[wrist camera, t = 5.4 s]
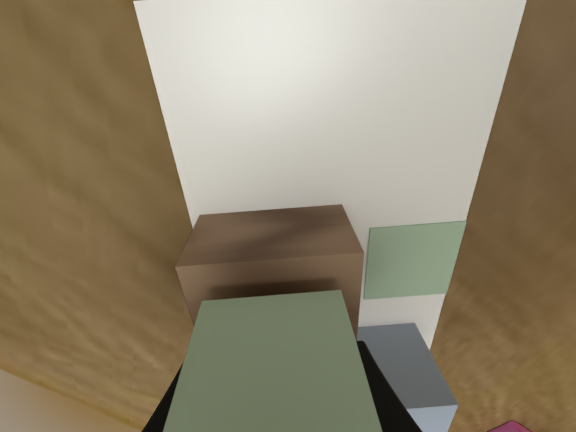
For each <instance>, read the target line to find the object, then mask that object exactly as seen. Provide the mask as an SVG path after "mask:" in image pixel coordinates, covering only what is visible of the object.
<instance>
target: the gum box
mask: <svg viewBox="0 0 576 432" xmlns="http://www.w3.org/2000/svg"><path fill="white" fill-rule="evenodd" d="M488 432H531V431H529V430H527V429H526V428H524V427H523V426H521V425H519V424H518V423H516V422H514V421H510V422H507V423H505V424H503V425H501V426H499V427H497V428H495V429H493V430H490V431H488Z"/></svg>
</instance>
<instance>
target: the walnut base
mask: <svg viewBox="0 0 576 432" xmlns="http://www.w3.org/2000/svg"><path fill="white" fill-rule="evenodd" d="M363 261H364V251H363V249H362V247H361V244H360V242H359V240H358V238H357V236H356V234H355V232H354V229H353V227H352V225H351V223H350V221H349V219H348V216H347V214H346V212H345V210H344V208H343V206H342V204H338V205H324V206H311V207H297V208H284V209H271V210H257V211H244V212H230V213H217V214H204V215H199V217H198V219H197V221H196V224H195V226H194V228H193V230H192V232H191V234H190V236H189V238H188V240H187V243H186V245H185V247H184V249H183V251H182V253H181V255H180V257H179V259H178V261H177V264H176V266H175V269H176V272H177V275H178V278H179V281H180V284H181V287H182V290H183V293H184V297H185V300H186V303H187V306H188V309H189V312H190V315H191V318H192V321H193V324H194V326H195V322H196V319H197V315H198V312H199V309H200V305H201V302H202V301H208V300H220V299H233V298H245V297H258V296H270V295H283V294H295V293H307V292H320V291H332V290H341V291H342V295H343V298H344V302H345V305H346V308H347V312H348V315H349V319H350V322H351V326H352V329H353V333H354V336H355V339H356V341H357V333H358V321H359V309H360V297H361V285H362V273H363Z"/></svg>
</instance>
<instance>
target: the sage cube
mask: <svg viewBox="0 0 576 432" xmlns="http://www.w3.org/2000/svg"><path fill="white" fill-rule="evenodd" d="M163 432H382V429H381V426H380V422H379V419H378V415H377V412H376V408H375V405H374V401H373V398H372V395H371V391H370V388H369V384H368V381H367V377H366V374H365V370H364V367H363V364H362V360H361V357H360V353H359V350H358V346H357V343H356V339H355V336H354V333H353V329H352V326H351V322H350V319H349V315H348V312H347V308H346V305H345V302H344V298H343V295H342V291H341V290H332V291H320V292H307V293H295V294H283V295H270V296H258V297H245V298H233V299H220V300H208V301H202V302H201V305H200V309H199V312H198V315H197V319H196V322H195V326H194V329H193V332H192V336H191V339H190V342H189V346H188V349H187V352H186V356H185V359H184V362H183V366H182V369H181V373H180V376H179V379H178V383H177V386H176V389H175V393H174V396H173V399H172V403H171V406H170V409H169V413H168V416H167V420H166V423H165V426H164V430H163Z"/></svg>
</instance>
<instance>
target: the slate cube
mask: <svg viewBox="0 0 576 432" xmlns="http://www.w3.org/2000/svg"><path fill="white" fill-rule="evenodd" d="M357 341H364V342H365V343H366V345H367V347H368V349H369V351H370V353H371V354H372V356H373V358H374V360H375V361H376V363H377V365H378V367H379V368H380V370H381V372H382V373H383V375H384V376H385V378H386V380H387V381H388V383H389V384H390V386H391V387H392V389H393V390H394V392H395V393H396V395H397V396H398V398H399V399H400V401H401V402H402V404H403V405H404V407H405V408H406V410H407V411H408V412H409V414H410V415H411V417H412V418H413V419H414V421H415V422H416V424H417V425H418V426H419V428H420V429H421V430H422V432H447V431H448V429H449V426H450V424H451V422H452V419H453V417H454V414H455V412H456V409H457V407H458V403H457V401H456V399H455V397H454V396H453V394H452V392H451V390H450V388H449V386H448V384H447V382H446V381H445V379H444V377H443V375H442V373H441V371H440V369H439V367H438V366H437V364H436V362H435V360H434V358H433V356H432V354H431V352H430V350H429V349H428V347H427V345H426V343H425V341H424V339H423V337H422V335H421V334H420V332H419V330H418V328H417V326H416V324H415V323H405V324H392V325H379V326H367V327H358V333H357Z"/></svg>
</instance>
